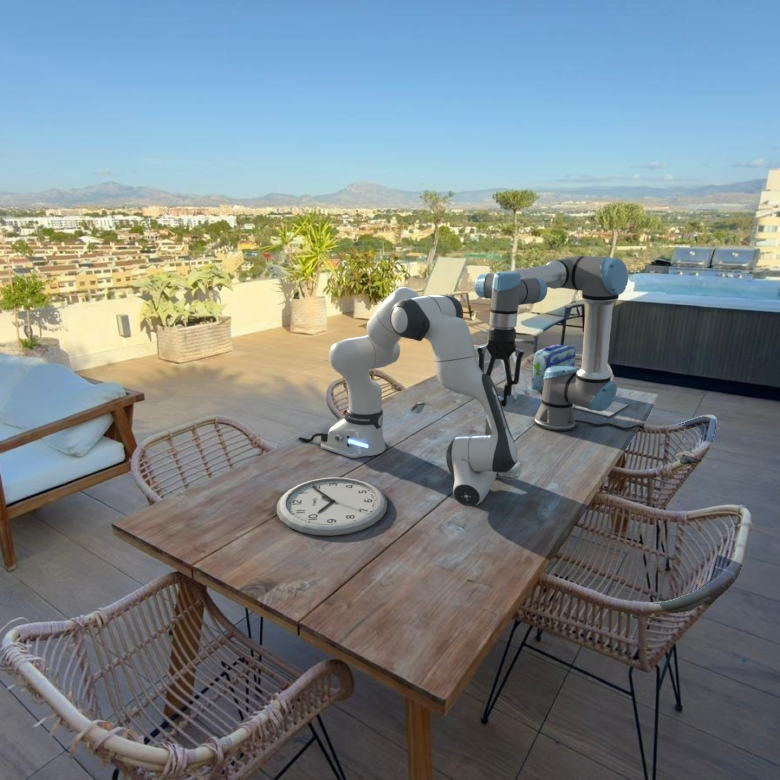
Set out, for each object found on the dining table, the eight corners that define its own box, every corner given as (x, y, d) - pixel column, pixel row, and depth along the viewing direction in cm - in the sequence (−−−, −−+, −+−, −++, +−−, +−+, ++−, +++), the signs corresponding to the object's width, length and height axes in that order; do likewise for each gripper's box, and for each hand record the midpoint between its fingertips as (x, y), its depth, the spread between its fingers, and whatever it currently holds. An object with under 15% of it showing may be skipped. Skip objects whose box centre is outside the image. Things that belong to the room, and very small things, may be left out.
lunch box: (547, 397, 237) (552, 352, 231) (526, 391, 245) (531, 348, 238) (574, 386, 255) (580, 344, 249) (554, 381, 262) (559, 340, 256)
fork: (408, 411, 216) (408, 407, 215) (419, 400, 230) (419, 396, 229) (414, 412, 215) (414, 407, 214) (425, 401, 229) (425, 396, 229)
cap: (499, 401, 159) (500, 395, 158) (506, 406, 155) (506, 400, 154) (486, 402, 158) (486, 396, 157) (493, 407, 154) (493, 401, 153)
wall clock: (392, 527, 129) (268, 531, 127) (391, 533, 130) (269, 537, 127) (383, 473, 158) (282, 475, 155) (383, 478, 158) (282, 480, 156)
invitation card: (608, 416, 214) (573, 407, 224) (608, 416, 214) (573, 408, 224) (628, 404, 229) (594, 396, 238) (628, 405, 229) (594, 397, 238)
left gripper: (518, 468, 145) (527, 450, 157) (448, 455, 153) (461, 438, 165) (516, 489, 147) (525, 469, 159) (447, 474, 155) (460, 457, 167)
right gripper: (535, 327, 150) (527, 404, 157) (475, 322, 156) (470, 397, 163) (532, 332, 143) (524, 412, 150) (469, 327, 149) (465, 404, 156)
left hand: (492, 453), depth 162 cm, fingers closed on bottle, 5 cm apart
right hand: (496, 404), depth 156 cm, fingers closed on cap, 4 cm apart
